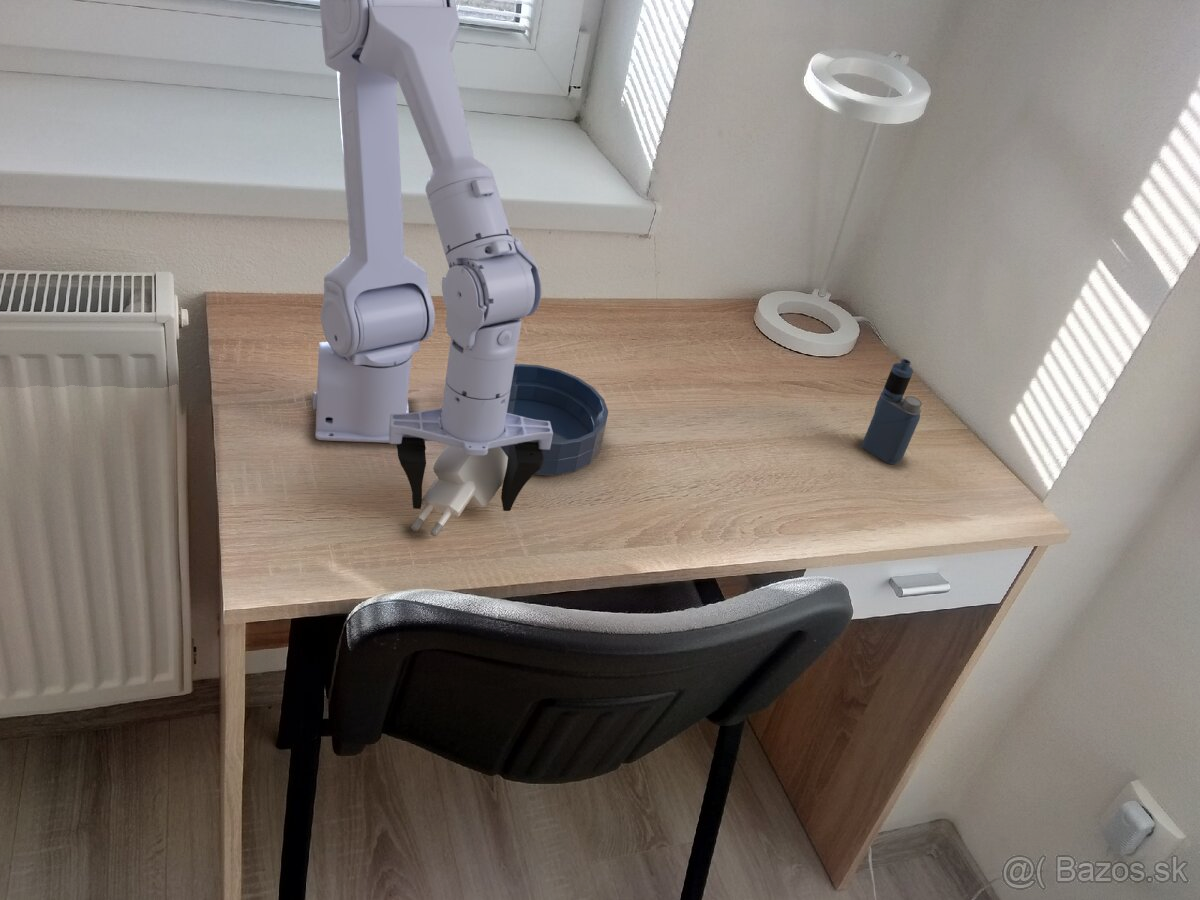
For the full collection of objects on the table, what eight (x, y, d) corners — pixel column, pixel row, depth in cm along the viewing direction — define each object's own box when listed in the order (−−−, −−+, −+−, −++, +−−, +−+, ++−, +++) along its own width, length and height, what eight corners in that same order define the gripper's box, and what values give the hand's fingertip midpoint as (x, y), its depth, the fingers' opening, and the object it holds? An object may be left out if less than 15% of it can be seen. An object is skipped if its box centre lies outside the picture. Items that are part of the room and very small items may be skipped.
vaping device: (867, 438, 126) (902, 353, 119) (904, 461, 123) (942, 375, 116) (856, 445, 124) (890, 358, 117) (893, 468, 121) (930, 381, 115)
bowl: (469, 476, 105) (474, 440, 102) (456, 394, 117) (460, 360, 114) (612, 481, 109) (621, 446, 106) (585, 401, 121) (593, 368, 118)
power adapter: (459, 559, 96) (426, 521, 92) (423, 548, 99) (390, 511, 95) (521, 466, 101) (493, 427, 97) (485, 459, 104) (456, 420, 100)
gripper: (396, 403, 86) (384, 529, 94) (567, 411, 90) (542, 532, 98) (392, 358, 92) (382, 481, 99) (554, 368, 96) (531, 485, 103)
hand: (461, 503), depth 99 cm, fingers open, 7 cm apart
